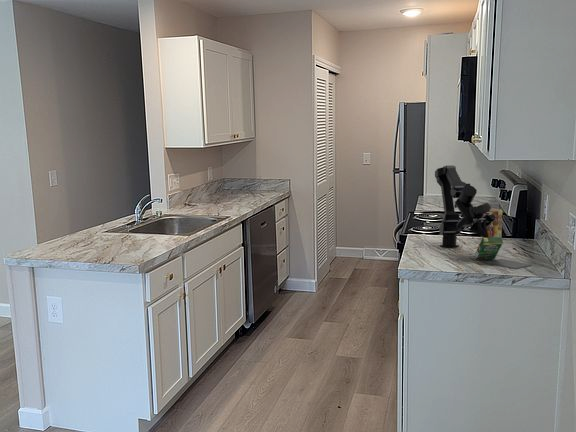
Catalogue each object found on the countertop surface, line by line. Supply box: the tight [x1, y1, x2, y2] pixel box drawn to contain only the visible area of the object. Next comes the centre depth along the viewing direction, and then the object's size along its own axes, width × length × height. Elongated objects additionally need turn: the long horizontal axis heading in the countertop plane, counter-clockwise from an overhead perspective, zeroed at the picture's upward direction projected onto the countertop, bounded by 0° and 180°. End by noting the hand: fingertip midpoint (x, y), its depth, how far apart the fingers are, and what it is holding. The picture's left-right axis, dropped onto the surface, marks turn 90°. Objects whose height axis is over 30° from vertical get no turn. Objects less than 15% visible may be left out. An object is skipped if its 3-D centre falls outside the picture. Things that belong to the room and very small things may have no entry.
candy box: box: [481, 208, 503, 238], centre depth 269 cm, size 9×4×15 cm, turn 39°
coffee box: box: [474, 236, 504, 260], centre depth 221 cm, size 8×3×13 cm
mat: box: [485, 258, 533, 270], centre depth 217 cm, size 14×10×1 cm
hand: (487, 237), depth 224 cm, fingers closed
